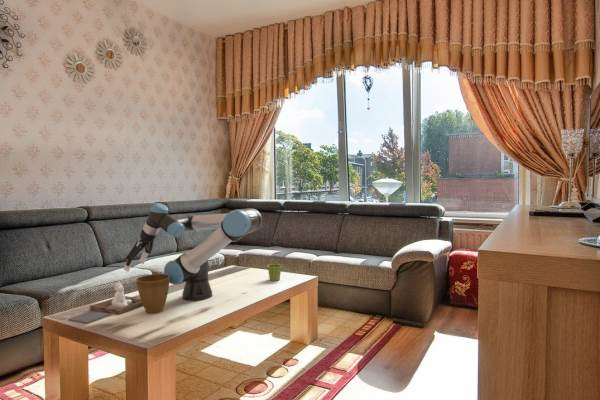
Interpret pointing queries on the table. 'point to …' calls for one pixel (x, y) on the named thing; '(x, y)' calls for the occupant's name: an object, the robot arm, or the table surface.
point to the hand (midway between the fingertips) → (133, 266)
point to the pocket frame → (104, 308)
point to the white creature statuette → (120, 297)
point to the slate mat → (89, 317)
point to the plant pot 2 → (274, 271)
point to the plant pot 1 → (153, 291)
